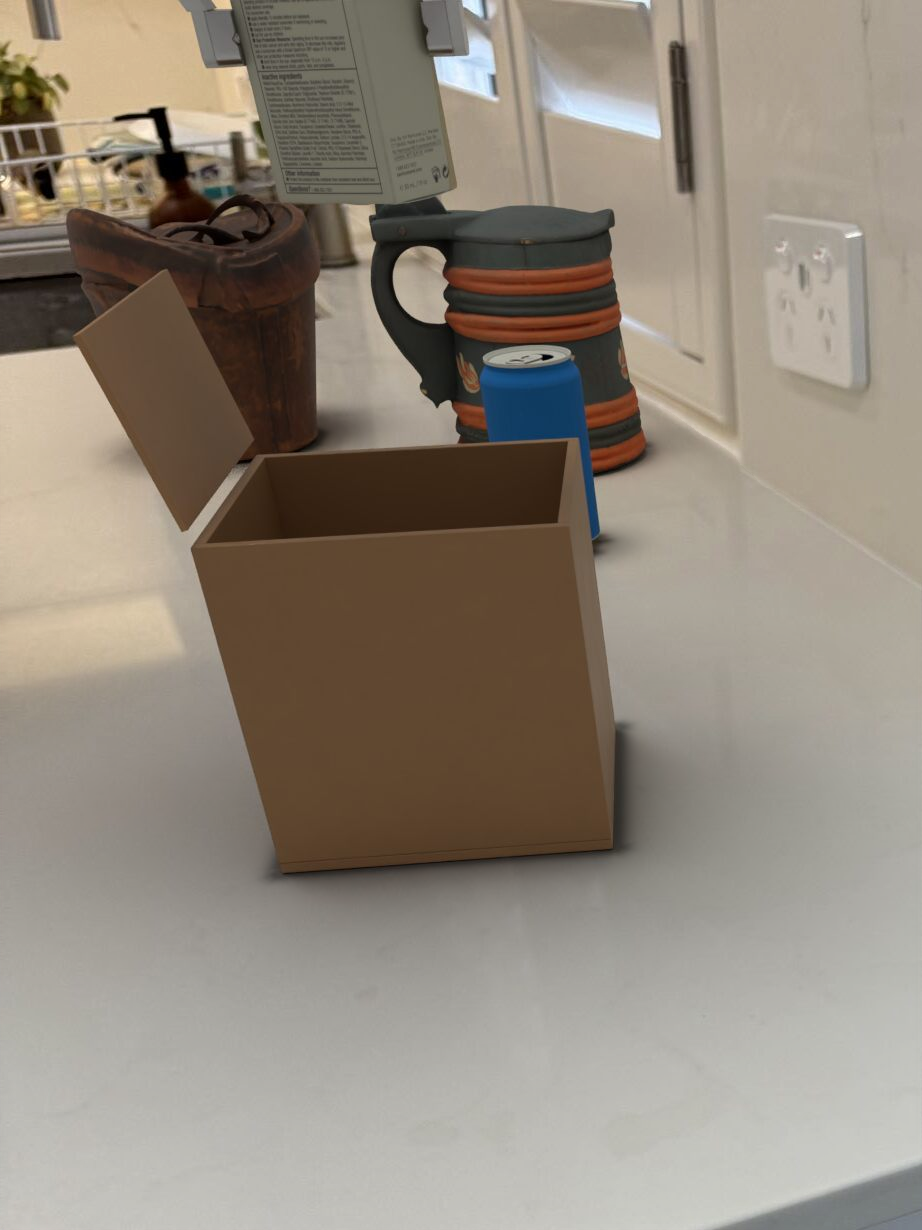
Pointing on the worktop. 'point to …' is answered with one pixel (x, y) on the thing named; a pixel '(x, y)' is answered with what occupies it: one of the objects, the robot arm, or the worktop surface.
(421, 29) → the cosmetic box
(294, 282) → the brown plant pot
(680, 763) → the worktop surface
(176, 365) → the flap
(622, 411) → the beer stein
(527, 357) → the beverage can
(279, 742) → the carton
